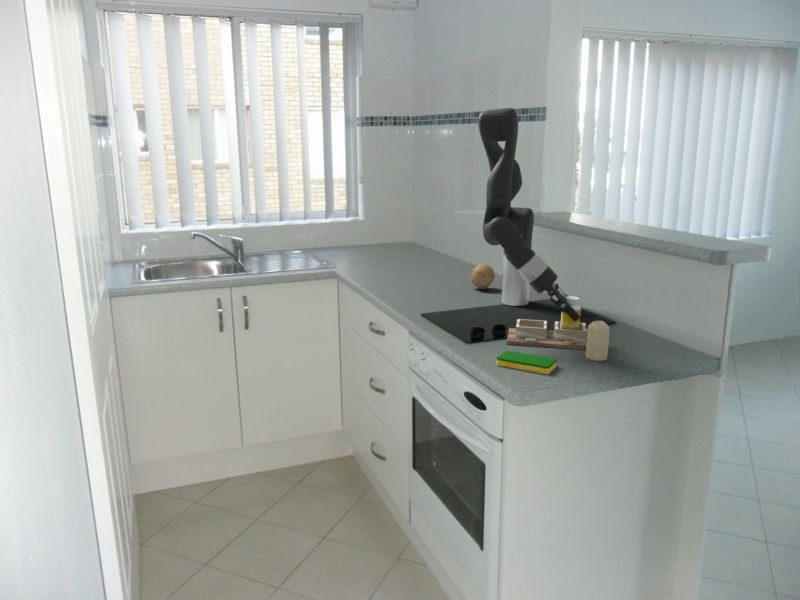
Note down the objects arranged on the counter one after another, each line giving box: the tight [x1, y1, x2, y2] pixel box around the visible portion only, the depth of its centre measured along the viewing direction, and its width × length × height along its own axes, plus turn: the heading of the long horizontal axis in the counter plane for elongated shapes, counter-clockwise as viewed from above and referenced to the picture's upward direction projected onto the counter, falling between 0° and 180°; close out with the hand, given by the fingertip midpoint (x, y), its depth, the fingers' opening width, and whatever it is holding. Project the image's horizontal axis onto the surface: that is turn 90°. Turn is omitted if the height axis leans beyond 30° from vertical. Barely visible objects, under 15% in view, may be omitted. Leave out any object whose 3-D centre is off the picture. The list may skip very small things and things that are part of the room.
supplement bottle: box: [560, 295, 582, 330], centre depth 190 cm, size 5×5×10 cm
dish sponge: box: [495, 350, 558, 375], centre depth 171 cm, size 7×14×2 cm, turn 60°
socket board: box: [506, 318, 588, 351], centre depth 191 cm, size 13×24×4 cm, turn 78°
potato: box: [469, 263, 496, 290], centre depth 251 cm, size 9×9×10 cm
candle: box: [585, 320, 610, 362], centre depth 176 cm, size 6×6×10 cm
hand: (577, 316), depth 190 cm, fingers closed on supplement bottle, 5 cm apart
